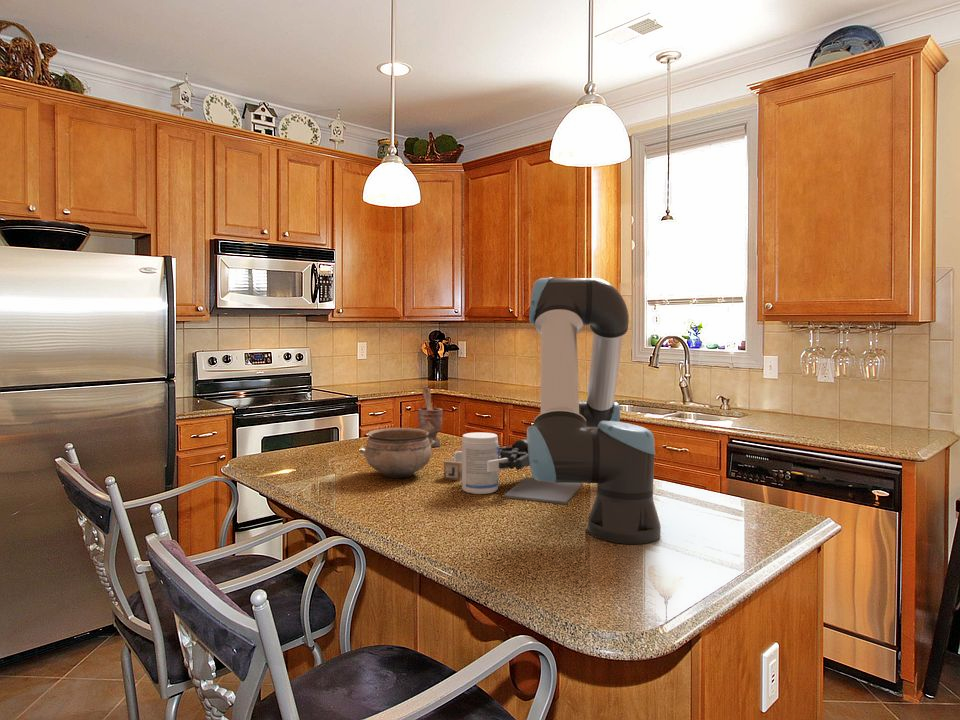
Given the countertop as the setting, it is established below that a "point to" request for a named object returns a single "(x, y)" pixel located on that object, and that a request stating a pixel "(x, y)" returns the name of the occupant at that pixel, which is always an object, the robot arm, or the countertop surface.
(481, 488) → the supplement tub
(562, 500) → the grey mat
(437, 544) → the countertop surface
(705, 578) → the countertop surface
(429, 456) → the cooking pot
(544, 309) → the robot arm
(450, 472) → the lettered block
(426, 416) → the mortar and pestle
